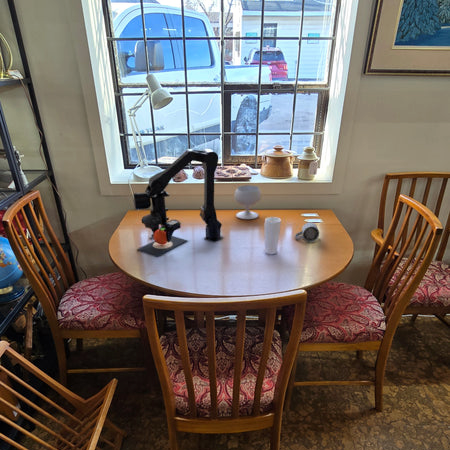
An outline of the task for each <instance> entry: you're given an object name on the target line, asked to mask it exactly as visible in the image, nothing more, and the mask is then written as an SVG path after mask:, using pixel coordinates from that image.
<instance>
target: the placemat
mask: <svg viewBox="0 0 450 450" xmlns="http://www.w3.org/2000/svg"><path fill="white" fill-rule="evenodd" d="M187 242H188V240H187V239H183V238H181V237H177V236H174V235H172V237H171V240H170V242H169V243H168V242H167V243H165V244H162V245H161V244H158V243H156V242H155V240H154V241H151V242H150V243H148V244H146V245H143V246H141V247H139V248H137V251H138V252H141V253H144V254H148V255H150V256H153V257H156V258H158V257H160V256H162V255H164V254H166V253H168V252H170V251H172V250H173V249H175V248H177V247H179V246H181V245H183V244H186V243H187Z"/></svg>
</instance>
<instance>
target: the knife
mask: <svg viewBox="0 0 450 450" xmlns="http://www.w3.org/2000/svg"><path fill="white" fill-rule="evenodd" d="M172 220H174V221H178V222H180V220H178V219H171V220H167V222H170V221H172ZM163 228H164V230H165V226H164V225H160V227H159V229H163ZM150 237H151V240H154V234H153V233H152V234H150Z"/></svg>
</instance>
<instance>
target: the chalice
mask: <svg viewBox="0 0 450 450" xmlns="http://www.w3.org/2000/svg"><path fill="white" fill-rule="evenodd" d="M261 199H262V192H261V190H260V188H259V187H258V186H257V185H240V186H238V187H237V188H236V190H235V192H234V200H235V201H236V203H237V204H239V205H241V206H243V207H244V208H245V210H244V211H239V212H237V213H236V215H235V216H236V217H237V218H239V219H241V220H253V219H257V218H258V217H259V213H257V212H255V211H250V208H252V206H255V205H257V204H258V203H260V201H261Z"/></svg>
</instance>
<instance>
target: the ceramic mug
mask: <svg viewBox="0 0 450 450" xmlns="http://www.w3.org/2000/svg"><path fill="white" fill-rule="evenodd" d="M319 237H320V230H319V227H318V226H317V224H316V223H314V222H306V223H305V224H303V226H302V228H301V230H300V231H299V232H296V233H295V234H294V238H295V240H302V239H303V240H304V242H307V243H314V242H316V241H318V239H319Z"/></svg>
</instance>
